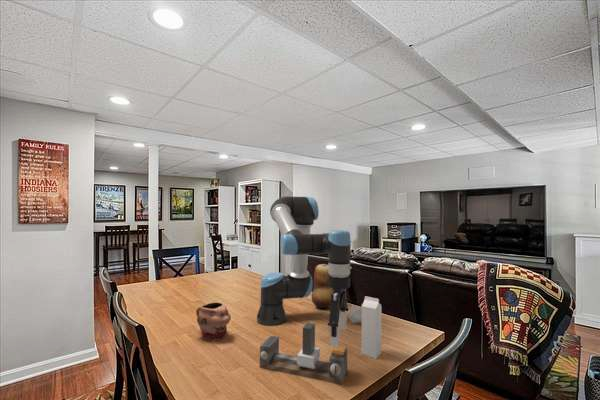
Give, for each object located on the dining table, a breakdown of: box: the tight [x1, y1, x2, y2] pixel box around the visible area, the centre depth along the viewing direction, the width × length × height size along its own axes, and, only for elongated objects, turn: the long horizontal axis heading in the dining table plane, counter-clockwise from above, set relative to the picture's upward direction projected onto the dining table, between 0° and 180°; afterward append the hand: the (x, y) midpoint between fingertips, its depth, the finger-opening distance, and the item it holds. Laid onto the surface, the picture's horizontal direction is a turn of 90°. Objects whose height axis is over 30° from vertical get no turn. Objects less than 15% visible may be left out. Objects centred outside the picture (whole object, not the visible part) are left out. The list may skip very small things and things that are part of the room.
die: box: [348, 305, 362, 324], centre depth 146 cm, size 8×9×10 cm
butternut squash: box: [310, 263, 334, 309], centre depth 169 cm, size 14×13×25 cm
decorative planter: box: [195, 302, 232, 341], centre depth 128 cm, size 20×12×14 cm, turn 65°
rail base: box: [259, 335, 348, 385], centre depth 102 cm, size 30×10×8 cm, turn 71°
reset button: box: [331, 345, 346, 357], centre depth 98 cm, size 4×4×4 cm
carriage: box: [296, 322, 321, 369], centre depth 101 cm, size 6×8×13 cm
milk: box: [361, 295, 383, 360], centre depth 114 cm, size 6×6×22 cm
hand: (338, 337), depth 98 cm, fingers open, 13 cm apart
